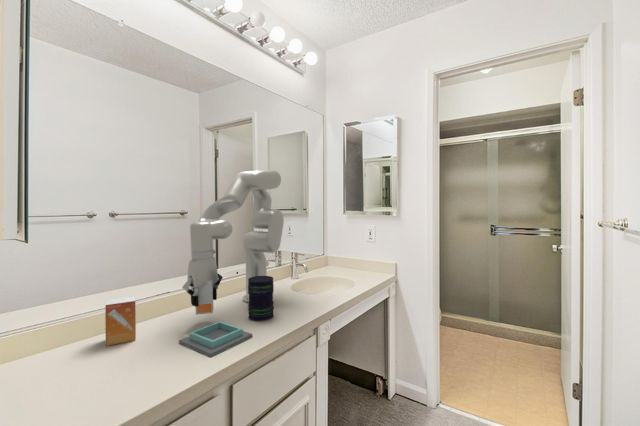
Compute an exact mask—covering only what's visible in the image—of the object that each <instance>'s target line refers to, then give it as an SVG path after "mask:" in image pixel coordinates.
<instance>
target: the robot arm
mask: <svg viewBox="0 0 640 426" xmlns="http://www.w3.org/2000/svg"><path fill="white" fill-rule="evenodd" d="M281 183H282V176H281V174H280V173H279V171H277V170H275V169H274V170H273V169H271V170H270V169H269V170H247V171H246V170H245V171H240V172H238V173H236V175H235V176H234V178H233V179H232V181H231V183H230V184H229V186H228V187H227V189H226V191H225V193H224V194H223V196H221V197H220V198H218V199H217V200H216V201H214V202H213V203H212V204H210V205H209V206H208V207H207V208H205V210H204V211H203V213H202V215H201V216H200V218H199V219H198V221H195V222H192V223H190V226H189V231H190V233H189V234H190V235H189V236H190V253H191V254H190V255H191V259H190V260H189V261H188V266H187V277H186V278H187V281H186V282H185V283H184V284H183V285H182V289H183V290H184V292H186V293H187V294H188V295H189V296H190V303H191V306H193V307H195V306H196V307H197V306H198V305H199V304H198V295H197V292H198V289H199V288H201V287H203V286H205V284H206V282H208V281H211V280H212V284H213V301H217V298H218V297H217V296H218V293H217V290H218V289H219V285H220V284H221V281H222V280H223V275H221V274H220V273H218V268H217V267H218V266H217V261H216V258H215V256H214V254H215V253H216V250H215V249H214V240H225V239H228V238H229V237H230V236H231V235H232V233H233V226H232V223H230V221H228V220H225V219H220V218H221V217H223V216H225V215H226V214H229V213H232V212H234V211H236V210H238V209H240V208H242V206H243V204H244V203H245V201H246V199H247V197H248V195H250V192H251V194H252V195H253V203H252V208H251V216H250V226H251V227H252V228H254V229H258V231H257V230H256V231H255V230H252V231H249V232H247V233H245V235H244V236H243V239H242V244H243V249H244V254H245V255H244V256H245V294H244V295H243V296H242V301H243V302H245V303H249V294H248V283H249V282H248V279H249V278H251V277H255V276H268V275H267V274H268V273H267V267H268V266H267V264H268V263H267V262H268V261H267V258H266V254H264V253H267V254H274V253H276V252H277V251H279V249H280V246H281V244H282V243H281V242H282V234H283V228H284V221H285V219H284V215H283V213H282V211H281V210H280V209H278V208H272V202H273V201H272V196H271V195H270V193H269V191H268V190H275V189H277V188H279V186H280V185H281ZM260 230H261V231H260ZM263 230H267V231H263Z"/></svg>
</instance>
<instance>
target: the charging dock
mask: <svg viewBox="0 0 640 426" xmlns="http://www.w3.org/2000/svg"><path fill="white" fill-rule="evenodd" d="M188 333H189V334H188V336H186V337H183V338H180V339H179V340H178V342H179V343H178V344H180V345H182V346H184V347H187V348H189V349H192V350H194V351H195V352H199V353H201V354H203V355H205V356H207V357H210V358H212V357H214V356H217V355H218V354H220V353H222V352H225V351H226V350H229V349H230V348H233V347H235V346H237V345H239V344H241V343H243V342H245V341H247V340H250V339H252V338H253V333H252V332H248V331H244V329H243V328H241V327H239V326H236V325H233V324H229V323H226V322H224V321H217V322H214V323H212V324H210V325H206V326H204V327H202V328H199V329H196V330H194V331H191V332H188Z"/></svg>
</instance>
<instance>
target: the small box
mask: <svg viewBox="0 0 640 426" xmlns="http://www.w3.org/2000/svg"><path fill="white" fill-rule="evenodd" d="M104 307H105V311H104V312H105V315H104V316H105V320H104V321H105V323H104V324H105V328H104V329H105V332H104V333H105V347H108V346H112V345H118V344H123V343H128V342H133V341H136V339H137V338H136V336H137V334H136V333H137V332H136V330H137V329H136V327H137V324H136V322H137V320H136V318H137V317H136V314H137V313H136V311H137V310H136V296H135V295H133V296H127V297H117V298H113V299H106V300H105V306H104Z"/></svg>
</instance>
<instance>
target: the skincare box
mask: <svg viewBox="0 0 640 426" xmlns="http://www.w3.org/2000/svg"><path fill="white" fill-rule="evenodd" d="M197 295H198V304H199V305H198V306H197V307H196V306H194V307H195V316H197V315H204V314H205V315H207V314H213V312H214V300H213V284H212V280H211V281H208V282H206V284H205V286H203V287H201V288H199V289H198V292H197Z"/></svg>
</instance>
